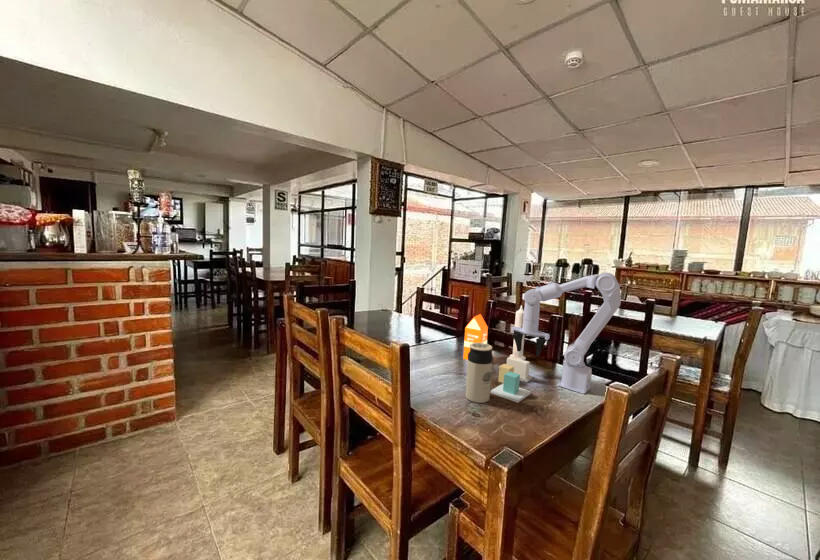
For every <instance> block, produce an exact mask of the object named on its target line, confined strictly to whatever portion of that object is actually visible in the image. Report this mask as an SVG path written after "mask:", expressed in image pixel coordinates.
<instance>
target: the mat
mask: <svg viewBox="0 0 820 560" xmlns="http://www.w3.org/2000/svg"><path fill="white" fill-rule="evenodd" d="M503 384H504V383H501V384H499V385H497V386H495V388H492V389H490V394H493V395H496V396H498V397H501V398H504V399H506V400H508V401H509V400H510V401H512V402H515V403H517V404H518V403H520V402H521V401H523V400H524V399H526V398H527V397H528V396H530V395H531V394H532V392H531V390H527V389H524V388H522V387H519V391H518V392H517V393H516V394H514V395H513V394H511V393H508V392H505V391H503Z"/></svg>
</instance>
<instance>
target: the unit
mask: <svg viewBox="0 0 820 560" xmlns="http://www.w3.org/2000/svg"><path fill="white" fill-rule="evenodd" d="M530 363H531V362H530V361H528V360H526V359H525V360H521V359H518V358H514V357H510V356H508V357H507V358H506V364H507V365H510V366H514V373H516V374H520V381H522V382H525V383H528V382H530V381H531V380H533V377H534V376H532V375H529V374H530Z"/></svg>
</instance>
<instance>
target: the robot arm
mask: <svg viewBox="0 0 820 560" xmlns="http://www.w3.org/2000/svg"><path fill="white" fill-rule="evenodd" d="M583 288H589V289H592V290H593V289H595V288H597V290H598V291H599V292H600V294H601V296H602V299H603V303H601V306H600V307H599V308H598V310H597V311H596V313H595V314H594V315H593V317H592V318H591V319H590V321H589V322H588V323H587V325H586V326H585V328H584V329H583V330H582V332H581V333H580V334H579V336H578V337H577V338H576V339H575V340H574V342H572V343H570V344H568V345H567V347H566V349H565V352H564V355H563V357H564V359H563V360H562V370H561V371H562V372H561V379H560V380H561V381H560V382H558V383H557V384H556V385H557V386H558V387H561V388H563V389H566V390H569V391H570V390H571V391H573V392H576V393H580V394H582V395H585V394H586V393H587V392H588V391H589V390H590V389H591V388H592V387H591V385H592V384H591V383H592V375H593V374H592V373H593V371H592V369H593V368H592V367H589V366H587V365H586V363H585V362H584V359H585V355H586V354H587V352H588V351H589V349H590V347H591V345H592V343H594V341H595V340H596V338H598V336H599V334H600V333H601V332H602V330H603V329H604V328H605V326H606V325H608V322H609V321H610V320H611V318H612V317H613V316H614V315H615V314H616V312H617V310H619V308H620V306H621V304H622V302H621V286H620V284H619V282H618V280H617V278H616V276H615V275H614V274H613V273H611V272H602V273H600V274H598V273H596V274H591V275H586V276H584V277H580V278H577V279H574V280H570V281H568V282H564V283H561V284H560V283H557V282H552V281H550V282H547V284H545V285H542V286H539V285H537V286H535V288H532V289H531V288H530V289H529V290H527V291H525V292H524V294H523V300H524V307H523V310H524V317H523V328H519V327H515V326H512V327H511V332H512V333H513V334H512V337H513V341H514V340H515V342H516V346H517V351H521V346H522V338H523V334H525V335H526V336H530V337H536V340H535V341H536V342H535V343H536V351H535V356H536V357H540V356H541V353H542V350H543V347H544V346H545V344H546V343H547V341H548V340H550V336H551V335H550V333H546V332H543V331H540V330H539V322H540V311H541V310H540V309H541V308H540V305H541V302H546V301H551V300H554V299H558V298H561V297H562V294H563V293H565V292H566V293H567V292H571V291H574V290H578V289H583ZM525 335H524V336H525Z"/></svg>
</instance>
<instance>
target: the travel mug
mask: <svg viewBox="0 0 820 560" xmlns="http://www.w3.org/2000/svg"><path fill="white" fill-rule="evenodd" d="M469 347H470V352H469V353H468V360H467V365H466V379H465V380H466V381H465V382H466V383H465V398H466V399H467V400H469V401H471V402H473V403H477V404H479V403H481V404H482V403H487V402H489V401H490V398H491V397H490V396H491V383H492V370H493V369H492V367H493V355H492V353H491V352H492V350H493V346H492V345H490V344H489V343H487V344H485V343H471V344H470V345H469Z"/></svg>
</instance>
